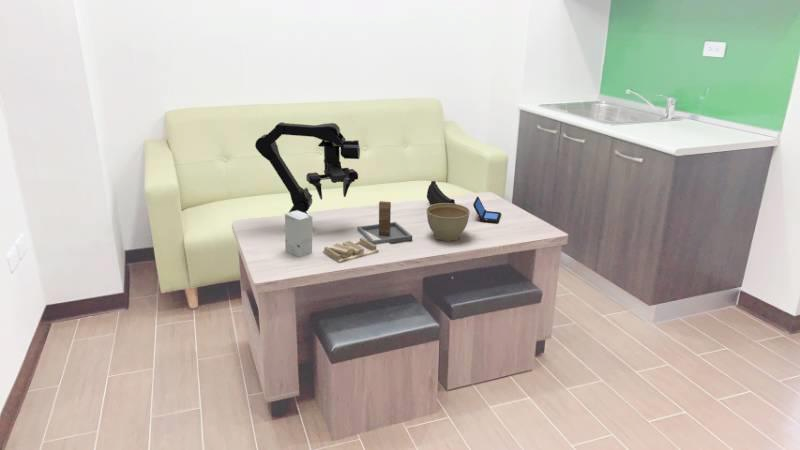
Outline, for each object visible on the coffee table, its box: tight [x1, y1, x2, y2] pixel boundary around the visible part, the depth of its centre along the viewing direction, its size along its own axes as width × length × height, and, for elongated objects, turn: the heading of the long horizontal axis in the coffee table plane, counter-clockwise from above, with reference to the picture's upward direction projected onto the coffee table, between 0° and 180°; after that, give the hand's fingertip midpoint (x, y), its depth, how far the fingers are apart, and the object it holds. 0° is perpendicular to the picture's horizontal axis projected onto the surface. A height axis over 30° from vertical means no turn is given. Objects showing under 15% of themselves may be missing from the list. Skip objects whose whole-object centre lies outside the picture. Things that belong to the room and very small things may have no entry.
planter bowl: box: [426, 203, 471, 242], centre depth 220 cm, size 16×16×11 cm
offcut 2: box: [339, 252, 354, 259], centre depth 202 cm, size 4×7×2 cm, turn 59°
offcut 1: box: [329, 243, 353, 256], centre depth 202 cm, size 4×7×2 cm, turn 59°
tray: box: [356, 221, 413, 245], centre depth 221 cm, size 16×16×2 cm
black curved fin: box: [426, 180, 456, 206], centre depth 244 cm, size 17×3×30 cm
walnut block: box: [378, 200, 392, 236], centre depth 219 cm, size 2×4×13 cm, turn 79°
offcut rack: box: [322, 237, 379, 264], centre depth 204 cm, size 16×11×3 cm
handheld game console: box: [473, 196, 502, 224], centre depth 242 cm, size 12×11×7 cm
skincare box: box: [284, 210, 313, 258], centre depth 202 cm, size 8×6×15 cm
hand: (332, 198), depth 222 cm, fingers open, 9 cm apart
